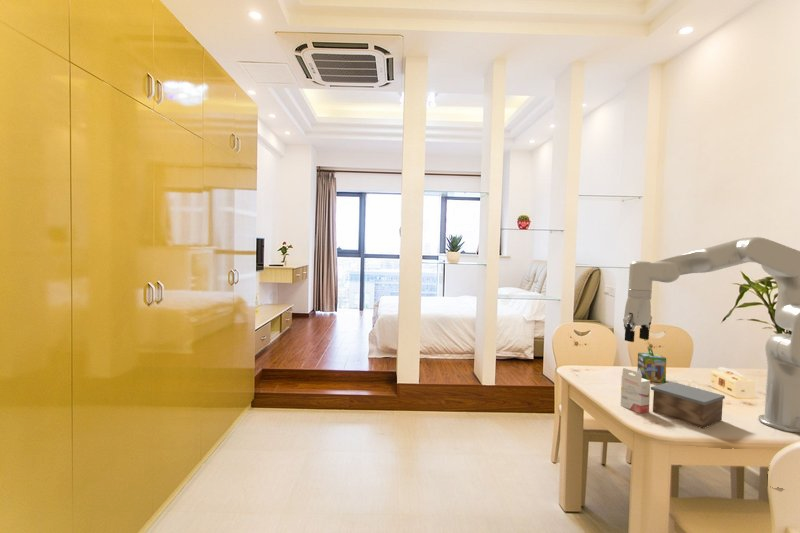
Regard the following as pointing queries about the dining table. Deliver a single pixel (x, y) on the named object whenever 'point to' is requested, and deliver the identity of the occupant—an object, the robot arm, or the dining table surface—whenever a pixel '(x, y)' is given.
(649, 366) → the chalk box
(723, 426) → the dining table surface
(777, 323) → the robot arm
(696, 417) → the box
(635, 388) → the ink cartridge box
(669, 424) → the dining table surface
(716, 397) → the lid
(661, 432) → the dining table surface
